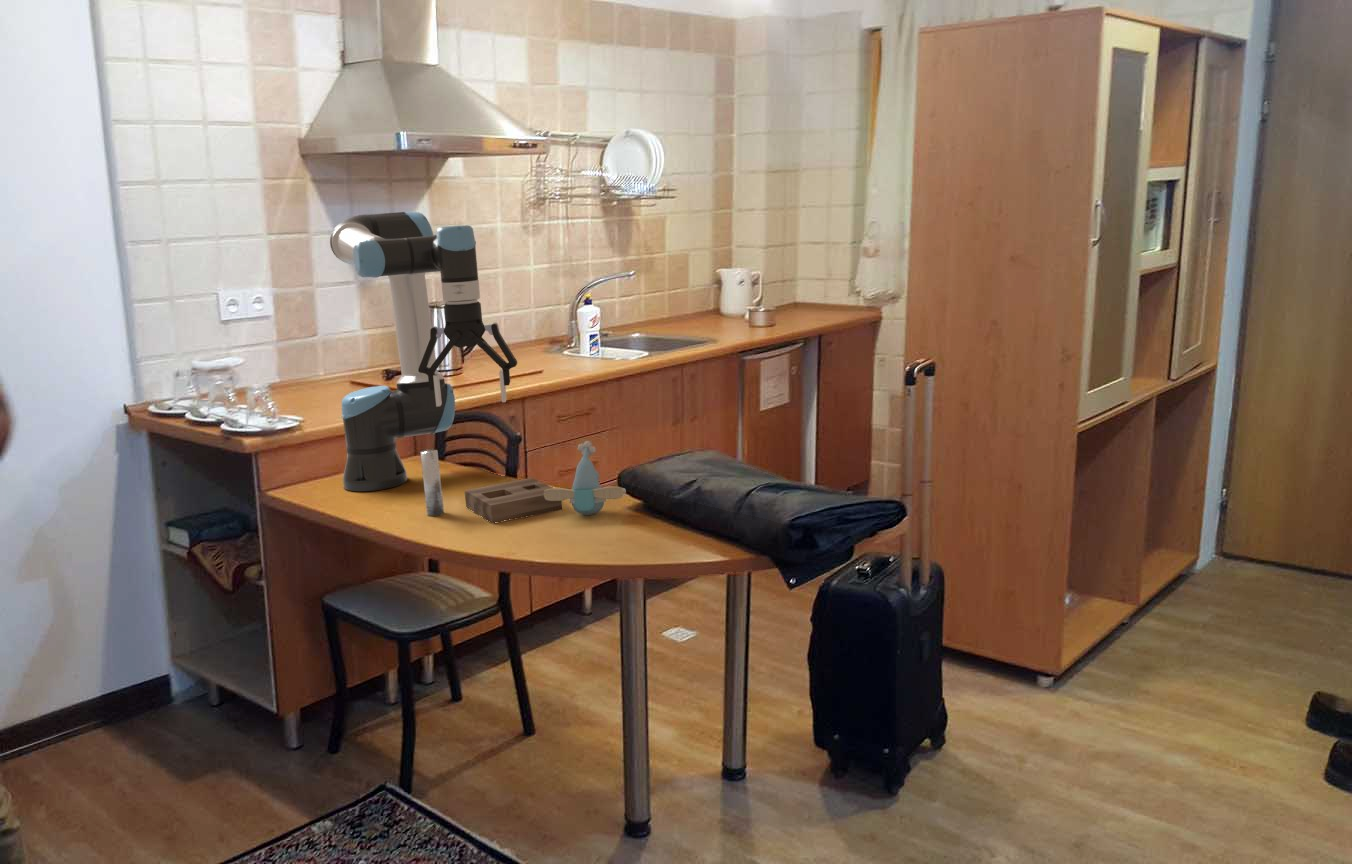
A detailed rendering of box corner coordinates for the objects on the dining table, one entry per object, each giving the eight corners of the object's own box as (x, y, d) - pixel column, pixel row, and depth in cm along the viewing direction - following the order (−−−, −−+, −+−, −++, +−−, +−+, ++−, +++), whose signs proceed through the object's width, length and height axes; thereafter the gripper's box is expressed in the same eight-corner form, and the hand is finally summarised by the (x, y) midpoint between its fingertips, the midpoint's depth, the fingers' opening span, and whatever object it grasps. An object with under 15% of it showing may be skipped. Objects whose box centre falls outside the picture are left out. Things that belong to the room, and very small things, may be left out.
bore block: (466, 507, 245) (464, 490, 244) (533, 494, 252) (531, 477, 252) (492, 523, 231) (490, 505, 230) (562, 509, 239) (560, 491, 238)
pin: (425, 513, 242) (418, 451, 239) (440, 510, 244) (434, 448, 241) (430, 517, 239) (423, 454, 236) (446, 514, 241) (439, 451, 238)
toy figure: (631, 505, 238) (626, 437, 235) (624, 520, 228) (619, 449, 225) (555, 508, 240) (549, 440, 237) (545, 522, 230) (539, 452, 227)
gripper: (397, 307, 224) (408, 410, 228) (521, 300, 225) (530, 402, 229) (404, 303, 231) (414, 403, 236) (524, 296, 232) (532, 396, 237)
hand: (471, 403), depth 232 cm, fingers open, 13 cm apart
